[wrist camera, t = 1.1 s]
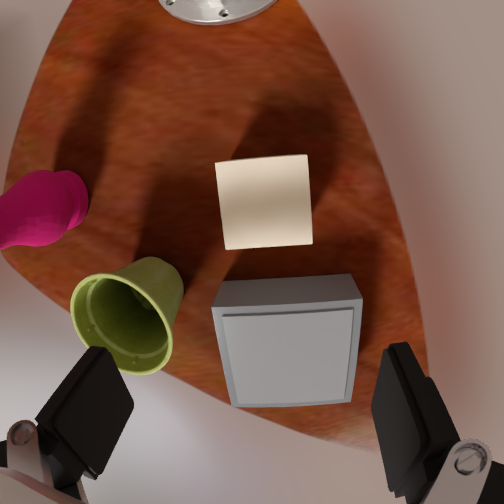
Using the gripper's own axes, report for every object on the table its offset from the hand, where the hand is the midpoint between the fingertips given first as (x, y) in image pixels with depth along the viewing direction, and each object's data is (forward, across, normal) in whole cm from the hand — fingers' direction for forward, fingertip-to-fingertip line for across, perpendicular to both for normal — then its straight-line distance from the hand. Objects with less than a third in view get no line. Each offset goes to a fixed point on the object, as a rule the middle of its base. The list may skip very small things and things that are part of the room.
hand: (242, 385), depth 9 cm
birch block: (+18, 0, -3) cm, 19 cm away
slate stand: (+18, -2, +11) cm, 21 cm away
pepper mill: (+19, +21, -5) cm, 28 cm away
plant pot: (+18, +12, +5) cm, 22 cm away
